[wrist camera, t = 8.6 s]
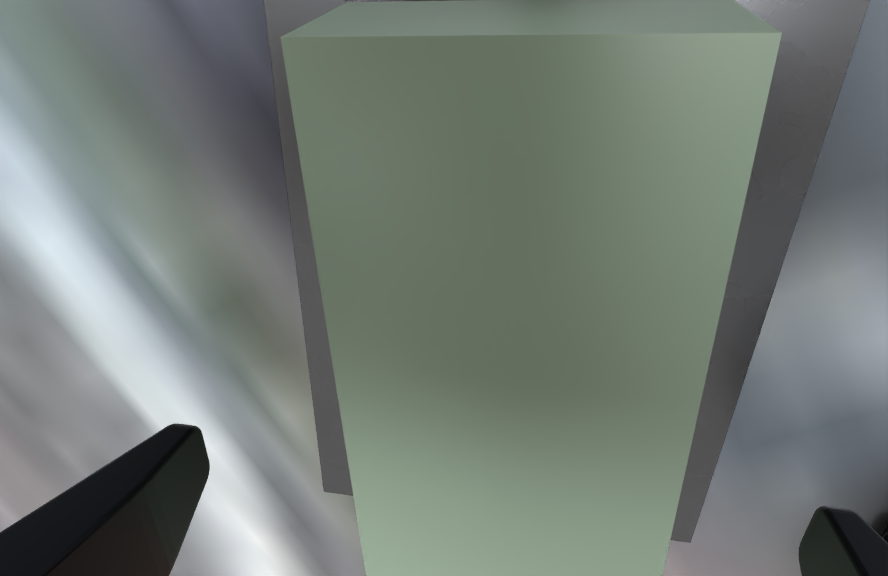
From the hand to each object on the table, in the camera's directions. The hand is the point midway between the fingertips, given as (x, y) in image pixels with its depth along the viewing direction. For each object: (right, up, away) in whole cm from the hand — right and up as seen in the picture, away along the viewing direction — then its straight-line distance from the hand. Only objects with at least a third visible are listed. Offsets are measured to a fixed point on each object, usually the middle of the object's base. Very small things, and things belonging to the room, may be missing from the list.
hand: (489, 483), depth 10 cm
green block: (+1, +2, +4) cm, 5 cm away
